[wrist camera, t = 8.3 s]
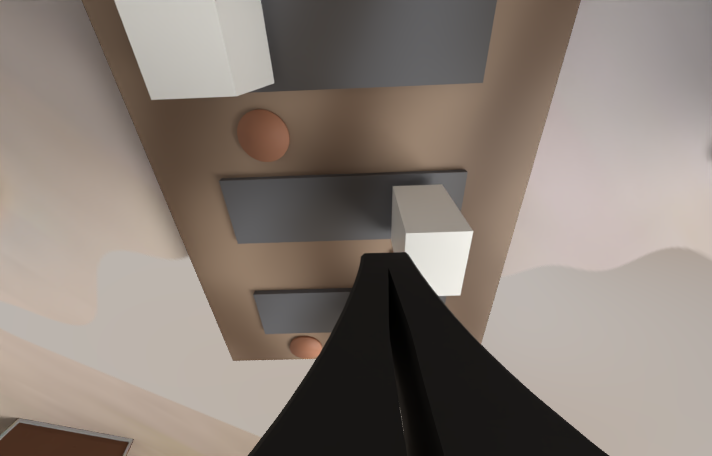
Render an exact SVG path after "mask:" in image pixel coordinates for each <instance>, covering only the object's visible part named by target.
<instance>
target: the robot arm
mask: <svg viewBox="0 0 712 456" xmlns="http://www.w3.org/2000/svg"><path fill="white" fill-rule="evenodd" d="M400 410H401V412H400ZM401 416H402V419H401ZM402 423H403V425H402ZM403 430H404V431H403ZM248 456H609V455H607V454H606V453H605V452H604V451H602V450H601V449H600V448H598V447H597V446H596V445H595V444H593V443H592V442H590V440H588V439H587V438H586V437H585V436H583V435H582V434H581V433H580V432H579V431H578V430H576V429H575V428H574V427H573V426H572V425H570V424H569V423H568V422H566V420H564V419H563V418H562V417H561V416H559V415H558V414H557V413H556V412H555V411H553V410H552V409H551V408H550V407H549V406H547V405H546V404H545V403H544V402H543V401H542V400H540V399H539V398H538V397H537V396H536V395H534V394H533V393H532V392H531V391H530V390H529V389H528V388H526V387H525V386H524V385H523V384H522V383H521V382H520V381H519V380H518V379H516V378H515V377H514V376H513V375H512V374H511V373H510V372H509V371H508V370H507V369H506V368H505V367H504V366H503V365H502V364H501V363H499V362H498V361H497V360H496V359H495V358H494V357H493V356H492V355H491V354H490V353H489V352H488V351H487V350H486V349H485V348H484V347H483V346H482V345H481V344H480V343H479V342H478V341H477V340H476V339H475V338H474V336H473V335H472V334H471V333H470V332H469V331H468V330H467V329H466V328H465V327H464V326H463V325H462V323H461V322H460V321H459V320H458V319H457V318H456V317H455V316H454V314H453V313H452V312H451V311H450V310H449V309H448V307H447V306H446V305H445V304H444V302H443V301H442V300H441V299H440V298H439V296H438V295H437V294H436V293H435V291H434V290H433V289H432V287H431V286H430V285H429V284H428V282H427V281H426V279H425V278H424V277H423V275H422V274H421V273H420V271H419V270H418V268H417V267H416V265H415V264H414V262H413V261H412V259H411V258H410V256H409V255H408V254H407V253H406V252H393V253H364V254H363V255H362V256H361V259H360V265H359V269H358V273H357V276H356V279H355V282H354V285H353V287H352V290H351V292H350V294H349V297H348V299H347V302H346V304H345V306H344V308H343V311H342V313H341V315H340V317H339V318H338V320H337V322H336V324H335V326H334V328H333V330H332V332H331V334H330V336H329V338H328V340H327V342H326V343H325V345H324V347H323V349H322V350H321V352H320V354H319V355H318V357H317V359H316V360H315V362H314V364H313V365H312V367H311V368H310V370H309V372H308V373H307V375H306V376H305V378H304V379H303V381H302V382H301V384H300V385H299V387H298V388H297V390H296V391H295V393H294V394H293V396H292V397H291V399H290V400H289V401H288V403H287V404H286V406H285V407H284V409H283V410H282V412H281V413H280V414H279V415H278V417H277V418H276V420H275V421H274V422H273V424H272V425H271V426H270V427H269V429H268V430H267V431H266V433H265V434H264V435H263V437H262V438H261V439H260V441H259V442H258V443H257V444H256V446H255V447H254V448H253V450H252V451H251V452H250V454H249V455H248Z"/></svg>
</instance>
